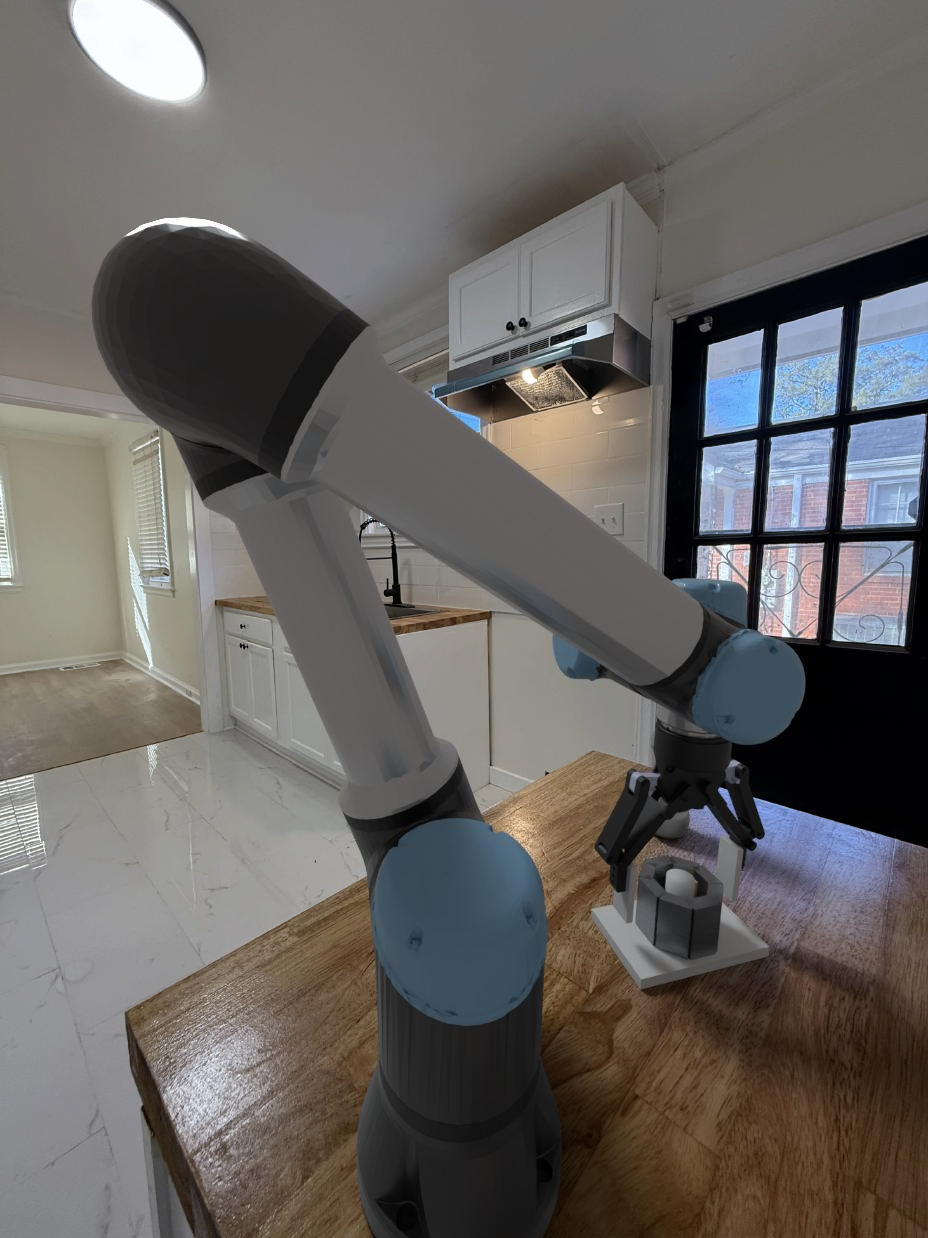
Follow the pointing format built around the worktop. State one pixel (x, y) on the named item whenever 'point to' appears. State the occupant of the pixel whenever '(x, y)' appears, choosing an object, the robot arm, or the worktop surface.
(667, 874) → the shaft stand
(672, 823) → the plastic bottle
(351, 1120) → the worktop surface
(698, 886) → the ring
